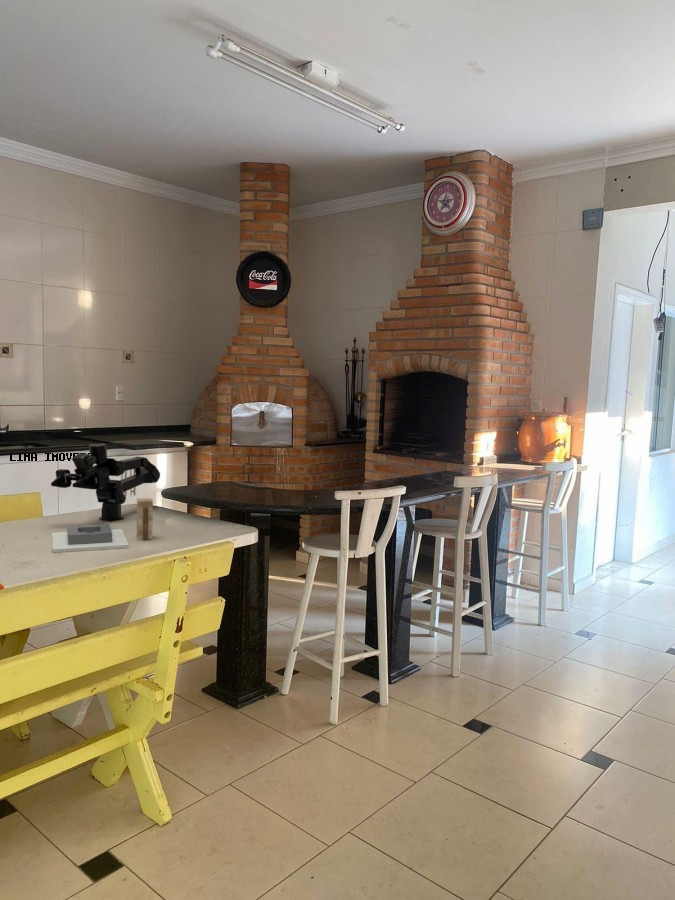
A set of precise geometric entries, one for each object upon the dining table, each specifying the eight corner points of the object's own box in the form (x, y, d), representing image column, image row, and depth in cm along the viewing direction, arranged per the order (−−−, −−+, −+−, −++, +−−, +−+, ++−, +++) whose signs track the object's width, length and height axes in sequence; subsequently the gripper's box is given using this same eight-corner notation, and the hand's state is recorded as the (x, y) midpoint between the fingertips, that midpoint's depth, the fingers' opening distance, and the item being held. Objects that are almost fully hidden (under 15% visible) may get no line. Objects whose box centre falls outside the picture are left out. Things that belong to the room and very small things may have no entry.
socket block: (52, 535, 225) (52, 523, 225) (121, 532, 234) (121, 520, 233) (52, 552, 205) (52, 539, 205) (128, 547, 214) (128, 535, 213)
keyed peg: (136, 536, 228) (136, 498, 227) (150, 535, 230) (150, 497, 229) (138, 540, 223) (138, 501, 222) (152, 539, 225) (153, 500, 224)
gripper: (70, 451, 245) (37, 460, 230) (112, 452, 238) (80, 462, 224) (74, 481, 247) (41, 492, 233) (116, 483, 240) (85, 495, 226)
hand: (62, 485), depth 229 cm, fingers open, 9 cm apart
